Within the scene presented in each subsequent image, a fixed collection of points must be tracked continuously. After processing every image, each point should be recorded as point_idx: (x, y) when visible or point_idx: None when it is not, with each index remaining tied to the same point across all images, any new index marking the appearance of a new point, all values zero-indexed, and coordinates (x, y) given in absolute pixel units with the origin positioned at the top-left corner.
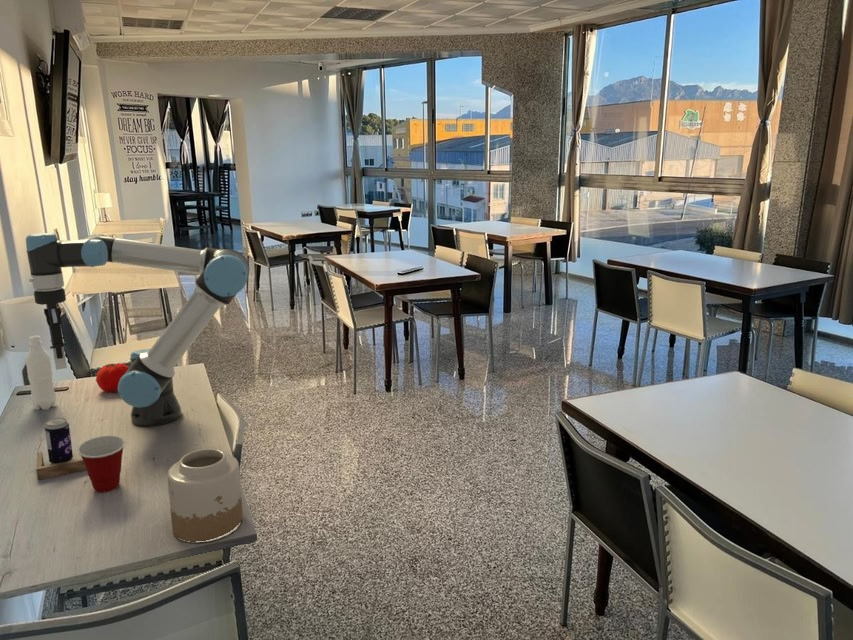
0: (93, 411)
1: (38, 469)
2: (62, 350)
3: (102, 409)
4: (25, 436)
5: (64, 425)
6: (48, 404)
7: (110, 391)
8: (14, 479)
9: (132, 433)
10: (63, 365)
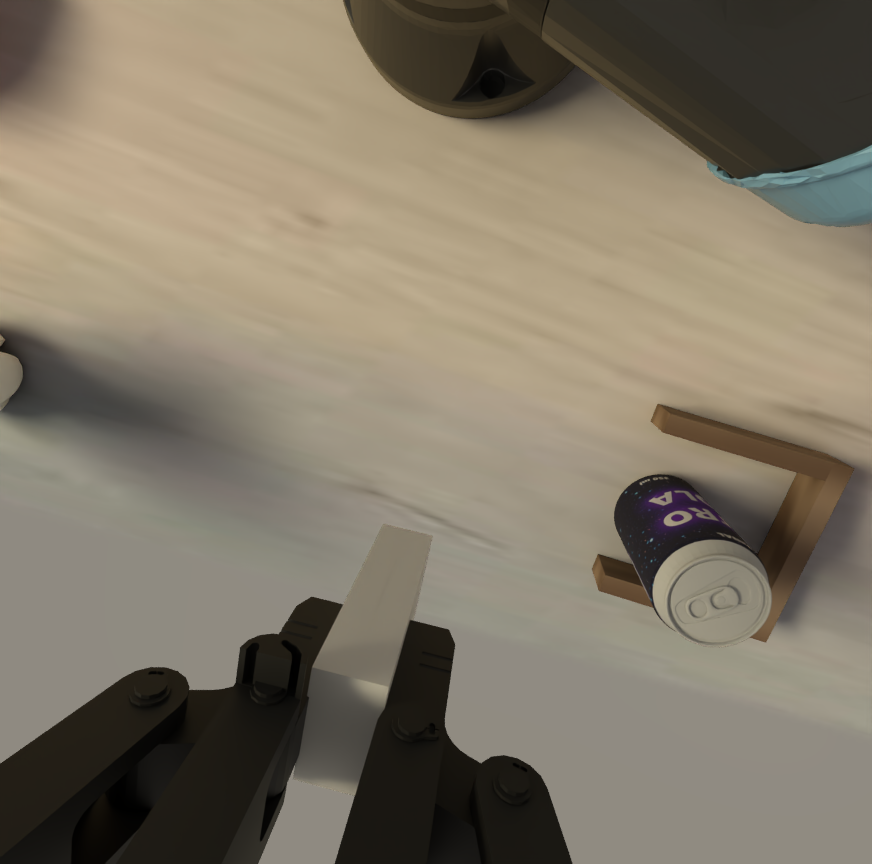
0: (170, 213)
1: (768, 635)
2: (395, 667)
3: (169, 168)
4: (287, 523)
5: (763, 572)
6: (9, 366)
7: None
8: (670, 663)
9: (595, 172)
10: (423, 573)
